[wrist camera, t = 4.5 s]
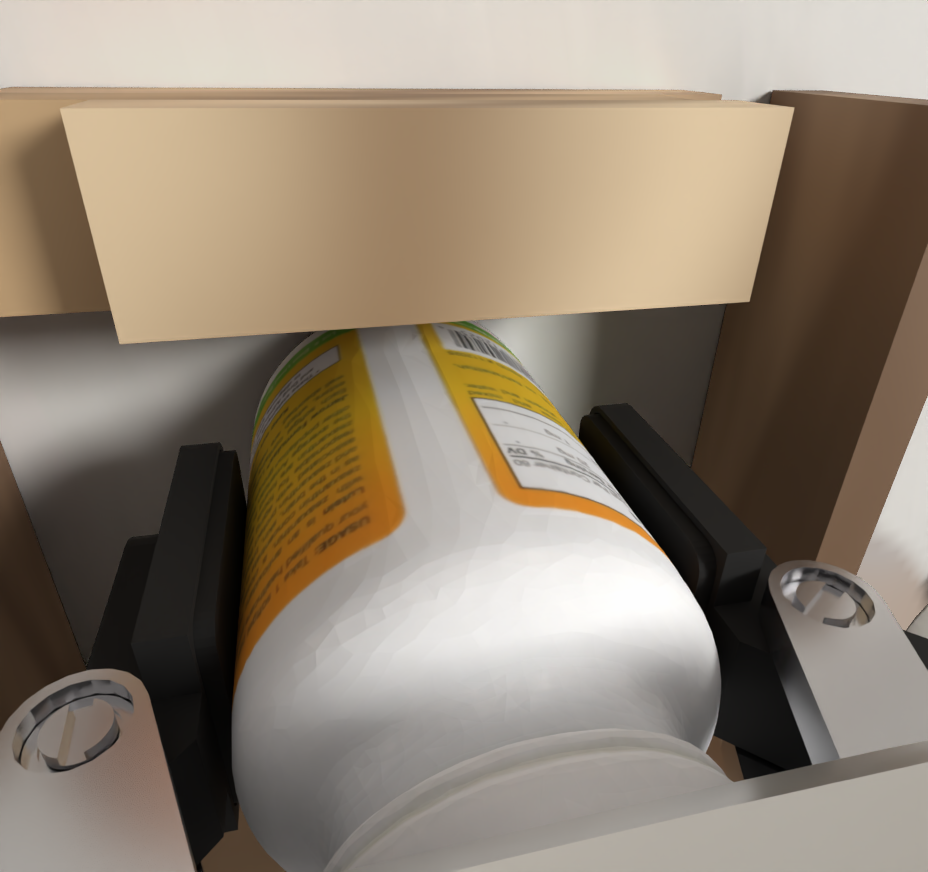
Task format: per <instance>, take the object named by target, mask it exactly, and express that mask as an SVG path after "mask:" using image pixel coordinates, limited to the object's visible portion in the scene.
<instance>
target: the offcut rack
mask: <svg viewBox="0 0 928 872" xmlns="http://www.w3.org/2000/svg"><path fill="white" fill-rule="evenodd" d="M721 98H722V95H721V94H712V93H704V92H695V91H686V90H565V89H338V88H111V87H9V88H3V89H0V317H9V316H26V315H43V314H61V313H78V312H95V311H111V312H112V316H113V320H114V324H115V328H116V332H117V336H118V340H119V343H120V344H129V343H144V342H159V341H174V340H189V339H204V338H219V337H233V336H248V335H263V334H278V333H293V332H308V331H323V330H337V329H352V328H367V327H382V326H397V325H412V324H427V323H441V322H456V321H471V320H486V319H501V318H516V317H531V316H545V315H560V314H575V313H590V312H605V311H620V310H635V309H649V308H664V307H679V306H694V305H709V304H724V303H727V305H726V309H725V314H724V319H723V323H722V328H721V333H720V337H719V342H718V346H717V351H716V356H715V360H714V365H713V370H712V374H711V379H710V383H709V388H708V393H707V397H706V402H705V407H704V411H703V416H702V420H701V425H700V430H699V434H698V439H697V444H696V448H695V453H694V458H693V462H692V467H691V469H692V470H693V471H694V472H695V473H696V474H697V475H698V477H699V478H700V479H701V480H702V481H703V482H704V483H705V484H706V485H707V486H708V487H709V488H710V489H711V490H712V491H713V492H714V493H715V494H716V495H717V496H718V497H719V498H720V499H721V501H722V502H723V503H724V504H725V505H726V506H727V507H728V508H729V509H730V510H731V511H732V512H733V513H734V514H735V515H736V516H737V517H738V518H739V519H740V520H741V521H742V522H743V524H744V525H745V526H746V527H747V528H748V529H749V530H750V531H751V532H752V533H753V534H754V535H755V536H756V537H757V538H758V539H759V540H760V541H761V542H762V543H763V544H764V545H765V546H766V548H767V550H766V554H767V555H768V556H769V557H770V558H771V560H772V561H773V562H774V563H775V564H776V565H777V566H778V565H780V564H782V563H786V562H789V561H793V560H811V561H817V562H823V563H827V564H830V565H833V566H836V567H839V568H842V569H844V570H846V571H848V572H850V573H852V574H854V575H857V572H858V569H859V567H860V565H861V562H862V559H863V557H864V554H865V552H866V549H867V547H868V544H869V542H870V539H871V537H872V534H873V532H874V529H875V527H876V524H877V522H878V519H879V517H880V514H881V512H882V509H883V507H884V504H885V502H886V499H887V497H888V494H889V491H890V489H891V486H892V484H893V481H894V479H895V476H896V474H897V471H898V469H899V466H900V464H901V461H902V459H903V456H904V454H905V451H906V449H907V446H908V444H909V441H910V439H911V436H912V434H913V431H914V428H915V426H916V423H917V421H918V418H919V416H920V413H921V411H922V408H923V406H924V403H925V401H926V398H927V396H928V100H925V99H913V98H902V97H890V96H879V95H868V94H856V93H845V92H833V91H792V90H773V92H772V96H771V101H770V104H763V103H755V102H747V101H739V100H721ZM84 671H86V667H85V664H84V662H83V659H82V656H81V654H80V651H79V648H78V646H77V643H76V640H75V638H74V635H73V632H72V630H71V627H70V624H69V622H68V619H67V617H66V614H65V611H64V609H63V606H62V603H61V601H60V598H59V595H58V593H57V590H56V587H55V585H54V582H53V579H52V577H51V574H50V571H49V569H48V566H47V563H46V561H45V558H44V555H43V553H42V550H41V548H40V545H39V542H38V540H37V537H36V534H35V532H34V529H33V526H32V524H31V521H30V518H29V516H28V513H27V510H26V508H25V505H24V502H23V500H22V497H21V494H20V492H19V489H18V487H17V484H16V481H15V479H14V476H13V473H12V471H11V468H10V465H9V463H8V460H7V457H6V455H5V452H4V449H3V447H2V444H1V441H0V732H1V730H2V729H3V727H4V725H5V723H6V722H7V720H8V718H9V717H10V716H11V715H12V714H13V713H14V712H15V711H16V710H17V709H18V708H19V707H20V706H21V705H22V704H23V703H24V702H25V701H26V700H27V699H28V698H30V697H31V696H33V695H34V694H36V693H37V692H38V691H40V690H41V689H43V688H44V687H45V686H47V685H49V684H52V683H54V682H56V681H58V680H60V679H62V678H64V677H66V676H69V675H72V674H76V673H80V672H84ZM706 754H707V755H709V756H710V757H711V758H712V759H713V760H714V761H715V762H716V764H717V765H718V766H719V767H720V768H721V769H722V770H723V771H724V773H725V774H726V776H727V773H726V769H725V765H724V761H723V757H722V753H721V749H720V738H718V737H716V736H712V739H711V742H710V744H709V747H708V749H707V751H706ZM727 778H728V776H727ZM202 864H203V867H204V871H205V872H286V871H285V870H284V869H283V868H282V867H281V866H280V865H279V864H278V863H277V862H276V861H275V860H274V859H273V858H272V857H270V856H269V855H268V854H267V852H266V851H265V850H264V848H263V847H262V846H261V845H260V843H259V842H258V841H257V839H256V837H255V836H254V834H253V832H252V831H251V829H250V827H249V825H248V823H247V821H246V819H245V816H244V814H243V812H242V809H241V807H240V804H239V820H238V830H235V831H230V832H225V833H224V837H223V838H222V839H221V840H220V841H219V842H218V843H217V844H216V846H215V847H214V848H213V849H212V850H211V851H210V852H209V853H208V854H207V855H206V856H205V857H204V858H203V860H202Z"/></svg>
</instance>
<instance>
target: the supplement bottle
mask: <svg viewBox="0 0 928 872" xmlns="http://www.w3.org/2000/svg"><path fill="white" fill-rule="evenodd" d="M249 471H250V473H249V486H248V500H247V512H246V526H245V541H244V554H243V566H242V579H241V592H240V605H239V616H238V630H237V644H236V657H235V671H234V686H233V701H232V772H233V778H234V784H235V790H236V794H237V797H238V801H239V804H240V807H241V809H242V812H243V814H244V816H245V819H246V821H247V823H248V825H249V827H250V829H251V831H252V832H253V834H254V836H255V837H256V839H257V841H258V842H259V843H260V845H261V846H262V847H263V848H264V850H265V851H266V852H267V854H268V855H269V856H270V857H272V858H273V859H274V860H275V861H276V862H277V863H278V864H279V865H280V866H281V867H282V868H283V869H284V870H285V871H286V872H343V871H347V870H351V869H356V868H360V867H364V866H368V865H373V864H377V863H381V862H386V861H390V860H394V859H399V858H403V857H407V856H411V855H416V854H420V853H424V852H429V851H433V850H437V849H442V848H446V847H450V846H455V845H459V844H463V843H467V842H472V841H476V840H481V839H485V838H489V837H494V836H498V835H503V834H507V833H511V832H516V831H520V830H525V829H529V828H533V827H538V826H542V825H547V824H551V823H555V822H560V821H564V820H569V819H573V818H577V817H582V816H586V815H591V814H595V813H599V812H604V811H608V810H613V809H617V808H622V807H626V806H630V805H635V804H639V803H644V802H648V801H653V800H657V799H661V798H666V797H670V796H675V795H679V794H684V793H688V792H692V791H697V790H701V789H706V788H710V787H715V786H719V785H724V784H728V783H733V781H731V780H730V779H728V778H727V776H726V774H725V773H724V771H723V770H722V769H721V768H720V767H719V766H718V765H717V764H716V762H715V761H714V760H713V759H712V758H711V757H710V756H709V755H707V754H706V751H707V749H708V747H709V744H710V742H711V739H712V736H713V734H714V730H715V726H716V722H717V718H718V712H719V706H720V696H721V673H720V663H719V657H718V652H717V648H716V645H715V641H714V638H713V634H712V631H711V629H710V627H709V625H708V622H707V620H706V618H705V615H704V613H703V611H702V609H701V608H700V606H699V604H698V603H697V601H696V599H695V598H694V596H693V594H692V593H691V591H690V589H689V587H688V586H687V585H686V583H685V582H684V581H683V579H682V577H681V576H680V574H679V573H678V571H677V570H676V568H675V567H674V565H673V564H672V562H671V561H670V560H669V558H668V557H667V555H666V554H665V553H664V551H663V550H662V549H661V548H660V546H659V545H658V544H657V543H656V541H655V540H654V538H653V537H652V536H651V534H650V533H649V532H648V531H647V530H646V528H645V527H644V526H643V524H642V523H641V522H640V520H639V519H638V518H637V516H636V515H635V514H634V512H633V511H632V510H631V508H630V507H629V506H628V504H627V503H626V502H625V500H624V499H623V498H622V496H621V495H620V494H619V492H618V491H617V490H616V489H615V487H614V486H613V485H612V483H611V482H610V481H609V479H608V478H607V477H606V475H605V474H604V473H603V471H602V470H601V469H600V467H599V466H598V465H597V463H596V462H595V460H594V459H593V457H592V456H591V455H590V454H589V452H588V451H587V450H586V448H585V447H584V446H583V444H582V443H581V442H580V440H579V439H578V438H577V436H576V435H575V433H574V432H573V431H572V429H571V428H570V427H569V425H568V424H567V423H566V422H565V420H564V419H563V418H562V416H561V415H560V414H559V412H558V411H557V410H556V409H555V407H554V406H553V405H552V403H551V402H550V401H549V399H548V398H547V397H546V395H545V394H544V392H543V391H542V389H541V388H540V387H539V386H538V384H537V383H536V382H535V381H534V379H533V378H532V377H531V375H530V374H529V373H528V372H527V370H526V369H525V368H524V366H523V365H522V364H521V363H520V361H519V360H518V359H517V358H516V357H515V355H514V354H513V353H512V352H511V351H510V350H509V349H508V348H507V347H506V346H505V345H504V344H503V343H502V342H501V341H500V340H499V339H498V338H497V337H496V336H495V335H494V334H492V333H491V332H490V331H488V330H487V329H486V328H484V327H482V326H481V325H479V324H478V323H476V322H474V321H472V320H471V321H456V322H441V323H427V324H412V325H397V326H382V327H367V328H352V329H337V330H323V331H316V332H315V333H313V334H312V335H311V336H309V337H308V338H306V339H305V340H304V341H303V342H301V343H300V344H299V345H298V346H297V347H296V348H295V349H294V350H293V351H292V352H291V353H290V354H289V355H288V356H287V357H286V358H285V359H284V360H283V361H282V363H281V364H280V365H279V367H278V368H277V369H276V371H275V372H274V374H273V375H272V377H271V378H270V380H269V382H268V384H267V386H266V388H265V390H264V392H263V394H262V397H261V400H260V403H259V406H258V409H257V412H256V417H255V422H254V428H253V435H252V444H251V456H250V466H249Z"/></svg>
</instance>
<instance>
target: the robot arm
mask: <svg viewBox="0 0 928 872" xmlns="http://www.w3.org/2000/svg"><path fill="white" fill-rule="evenodd" d="M579 440H580V442H581V443H582V444H583V446H584V447H585V448H586V450H587V451H588V452H589V454H590V455H591V456H592V457H593V459H594V460H595V462H596V463H597V465H598V466H599V467H600V469H601V470H602V471H603V473H604V474H605V475H606V477H607V478H608V479H609V481H610V482H611V483H612V485H613V486H614V487H615V489H616V490H617V491H618V492H619V494H620V495H621V496H622V498H623V499H624V500H625V502H626V503H627V504H628V506H629V507H630V508H631V510H632V511H633V512H634V514H635V515H636V516H637V518H638V519H639V520H640V522H641V523H642V524H643V526H644V527H645V528H646V530H647V531H648V532H649V533H650V534H651V536H652V537H653V538H654V540H655V541H656V543H657V544H658V545H659V546H660V548H661V549H662V550H663V551H664V553H665V554H666V555H667V557H668V558H669V560H670V561H671V562H672V564H673V565H674V567H675V568H676V570H677V571H678V573H679V574H680V576H681V577H682V579H683V581H684V582H685V583H686V585H687V586H688V587H689V589H690V591H691V593H692V594H693V596H694V598H695V599H696V601H697V603H698V604H699V606H700V608H701V609H702V611H703V613H704V615H705V618H706V620H707V622H708V625H709V627H710V629H711V631H712V634H713V638H714V641H715V645H716V648H717V652H718V657H719V663H720V673H721V696H720V706H719V712H718V718H717V722H716V726H715V730H714V734H713V736H716V737H718V738H720V749H721V753H722V757H723V761H724V765H725V769H726V773H727V776H728V779H730V780H731V781H733V783H728V784H724V785H719V786H715V787H710V788H706V789H701V790H697V791H692V792H688V793H684V794H679V795H675V796H670V797H666V798H661V799H657V800H653V801H648V802H644V803H639V804H635V805H630V806H626V807H622V808H617V809H613V810H608V811H604V812H599V813H595V814H591V815H586V816H582V817H577V818H573V819H569V820H564V821H560V822H555V823H551V824H547V825H542V826H538V827H533V828H529V829H525V830H520V831H516V832H511V833H507V834H503V835H498V836H494V837H489V838H485V839H481V840H476V841H472V842H467V843H463V844H459V845H455V846H450V847H446V848H442V849H437V850H433V851H429V852H424V853H420V854H416V855H411V856H407V857H403V858H399V859H394V860H390V861H386V862H381V863H377V864H373V865H368V866H364V867H360V868H356V869H351V870H347V871H343V872H928V604H927V605H926V606H925V608H924V609H923V610H922V611H921V612H920V613H919V614H918V615H917V616H916V618H915V619H914V620H913V622H912V623H911V624H910V626H909V627H908V629H907V630H906V631H905V630H902V628H901V627H900V625H899V624H898V622H897V620H896V619H895V617H894V616H893V614H892V612H891V611H890V609H889V608H888V606H887V604H886V603H885V601H884V600H883V598H882V597H881V596H880V595H879V594H878V593H877V591H876V590H875V589H874V588H873V587H872V586H870V585H869V584H868V583H866V582H865V581H864V580H862V579H861V578H860V577H858V576H856V575H854V574H852V573H850V572H848V571H846V570H844V569H842V568H839V567H836V566H833V565H830V564H827V563H823V562H817V561H811V560H793V561H789V562H786V563H782V564H780V565H778V566H777V565H776V564H775V563H774V562H773V561H772V560H771V558H770V557H769V556H768V555H767V554H766V550H767V548H766V546H765V545H764V544H763V543H762V542H761V541H760V540H759V539H758V538H757V537H756V536H755V535H754V534H753V533H752V532H751V531H750V530H749V529H748V528H747V527H746V526H745V525H744V524H743V522H742V521H741V520H740V519H739V518H738V517H737V516H736V515H735V514H734V513H733V512H732V511H731V510H730V509H729V508H728V507H727V506H726V505H725V504H724V503H723V502H722V501H721V499H720V498H719V497H718V496H717V495H716V494H715V493H714V492H713V491H712V490H711V489H710V488H709V487H708V486H707V485H706V484H705V483H704V482H703V481H702V480H701V479H700V478H699V477H698V475H697V474H696V473H695V472H694V471H693V470H692V469H691V468H690V467H689V466H688V465H687V464H686V463H685V462H684V461H683V460H682V459H681V458H680V457H679V456H678V455H677V454H676V453H675V451H674V450H673V449H672V448H671V447H670V446H669V445H668V444H667V443H666V442H665V441H664V440H663V439H662V438H661V437H660V436H659V435H658V434H657V433H656V432H655V431H654V430H653V429H652V427H651V426H650V425H649V424H648V423H647V422H646V421H645V420H644V419H643V418H642V417H641V416H640V415H639V414H638V413H637V412H636V411H635V410H634V409H633V408H632V407H631V406H630V405H629V404H627V403H623V404H612V405H602V406H594V407H593V408H592V410H591V412H590V415H585V416H583V417H582V419H581V423H580V430H579ZM246 512H247V506H246V500H245V494H244V489H243V483H242V478H241V472H240V466H239V461H238V456H237V452H236V450H232V451H223V447H222V445H221V443H220V442H218V443H208V444H198V445H187V446H181V448H180V452H179V456H178V459H177V463H176V467H175V471H174V475H173V479H172V483H171V487H170V491H169V495H168V499H167V503H166V507H165V511H164V515H163V519H162V523H161V526H160V530H159V534H155V535H147V536H139V537H132V538H130V539H129V540H128V541H127V544H126V546H125V548H124V551H123V555H122V558H121V561H120V564H119V567H118V571H117V574H116V577H115V580H114V583H113V586H112V590H111V593H110V596H109V599H108V602H107V606H106V609H105V612H104V615H103V618H102V621H101V625H100V628H99V631H98V634H97V637H96V641H95V644H94V647H93V650H92V653H91V656H90V660H89V663H88V666H87V669H86V671H84V672H80V673H76V674H72V675H69V676H66V677H64V678H62V679H60V680H58V681H56V682H54V683H52V684H49V685H47V686H45V687H44V688H43V689H41V690H40V691H38V692H37V693H36V694H34V695H33V696H31V697H30V698H28V699H27V700H26V701H25V702H24V703H23V704H22V705H21V706H20V707H19V708H18V709H17V710H16V711H15V712H14V713H13V714H12V715H11V716H10V717H9V718H8V720H7V722H6V723H5V725H4V727H3V729H2V730H1V732H0V872H205V871H204V867H203V864H202V860H203V858H204V857H205V856H206V855H207V854H208V853H209V852H210V851H211V850H212V849H213V848H214V847H215V846H216V844H217V843H218V842H219V841H220V840H221V839H222V838H223V837H224V833H225V832H230V831H235V830H238V820H239V801H238V797H237V794H236V790H235V784H234V778H233V772H232V701H233V686H234V671H235V657H236V644H237V630H238V616H239V605H240V592H241V579H242V566H243V554H244V541H245V526H246Z"/></svg>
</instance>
